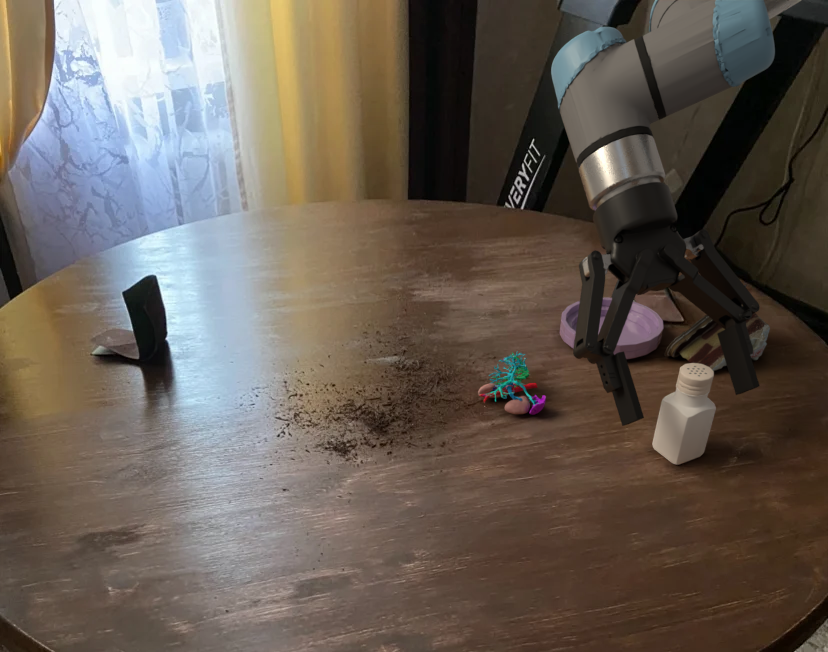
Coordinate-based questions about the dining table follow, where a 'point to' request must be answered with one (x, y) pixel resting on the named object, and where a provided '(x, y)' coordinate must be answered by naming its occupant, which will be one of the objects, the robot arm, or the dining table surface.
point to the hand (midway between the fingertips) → (691, 406)
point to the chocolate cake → (715, 342)
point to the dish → (636, 334)
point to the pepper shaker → (686, 416)
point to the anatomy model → (513, 388)
